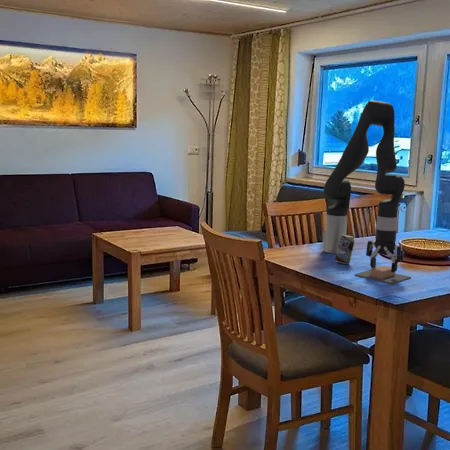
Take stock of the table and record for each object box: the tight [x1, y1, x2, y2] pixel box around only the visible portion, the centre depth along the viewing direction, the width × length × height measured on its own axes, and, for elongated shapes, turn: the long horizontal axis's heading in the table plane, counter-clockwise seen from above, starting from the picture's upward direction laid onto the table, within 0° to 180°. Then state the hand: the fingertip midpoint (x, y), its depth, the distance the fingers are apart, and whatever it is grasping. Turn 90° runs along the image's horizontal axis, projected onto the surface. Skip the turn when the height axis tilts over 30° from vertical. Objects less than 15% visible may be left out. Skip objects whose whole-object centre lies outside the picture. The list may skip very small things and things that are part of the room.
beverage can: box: [335, 234, 355, 265], centre depth 239 cm, size 6×7×12 cm
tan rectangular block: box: [370, 265, 396, 279], centre depth 219 cm, size 9×5×3 cm, turn 132°
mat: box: [354, 269, 412, 285], centre depth 219 cm, size 16×14×1 cm
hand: (383, 269), depth 219 cm, fingers open, 8 cm apart
